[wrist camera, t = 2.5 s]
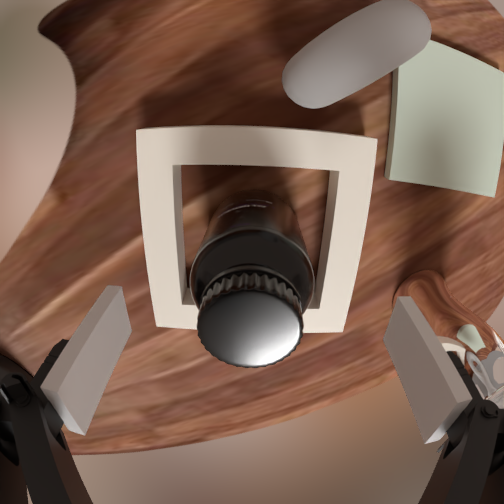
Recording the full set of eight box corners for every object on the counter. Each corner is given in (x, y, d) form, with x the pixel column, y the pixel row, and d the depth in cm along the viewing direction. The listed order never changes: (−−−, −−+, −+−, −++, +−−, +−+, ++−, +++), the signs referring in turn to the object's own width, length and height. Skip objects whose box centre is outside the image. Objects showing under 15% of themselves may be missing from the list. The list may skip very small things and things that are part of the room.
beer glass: (431, 324, 28) (495, 431, 15) (378, 323, 28) (434, 451, 14) (456, 267, 25) (545, 369, 12) (401, 261, 25) (492, 385, 11)
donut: (368, 16, 16) (435, -28, 7) (395, 52, 17) (475, 29, 8) (265, 82, 19) (274, 56, 10) (296, 119, 20) (329, 124, 11)
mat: (384, 176, 22) (389, 179, 21) (393, 31, 17) (398, 29, 16) (488, 194, 22) (494, 197, 21) (499, 74, 17) (506, 74, 16)
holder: (163, 309, 27) (156, 326, 25) (148, 127, 20) (136, 129, 18) (336, 314, 27) (342, 331, 25) (365, 135, 20) (377, 139, 18)
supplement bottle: (249, 168, 22) (244, 228, 11) (315, 227, 24) (360, 324, 13) (192, 234, 24) (147, 334, 13) (256, 283, 26) (258, 398, 15)
